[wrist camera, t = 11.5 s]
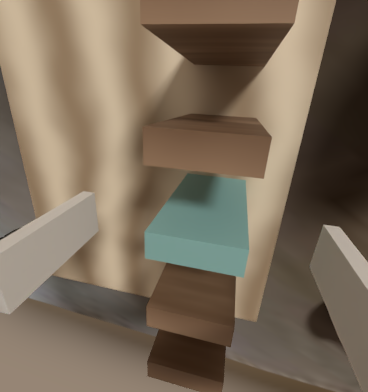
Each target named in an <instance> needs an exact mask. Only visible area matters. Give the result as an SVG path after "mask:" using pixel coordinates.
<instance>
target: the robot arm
mask: <svg viewBox="0 0 368 392" xmlns="http://www.w3.org/2000/svg"><path fill="white" fill-rule="evenodd" d="M98 231H99V228H98V220H97V211H96V202H95V193H93V192H86V191H83V192H81V193H79V194H78V195H76V196H74V197H73V198H71V199H69V200H68V201H66V202H64V203H62V204H61V205H59V206H57V207H56V208H54V209H52V210H51V211H49V212H47V213H46V214H44V215H42V216H40V217H39V218H37V219H35V220H34V221H32V222H30V223H29V224H27V225H25V226H23V227H21V228H18V229H16V230H14V231H12V232H10V233H8V234H7V235H5V236H4V237H2V238H0V312H2V313H6V314H11V313H12V312H13V311H14V310H15V309H16V308H17V307H18V306H19V305H20V304H21V303H22V302H23V301H24V300H25V299H27V298H28V297H29V296H30V295H31V294H32V293H33V292H34V291H35V290H36V289H37V288H38V287H39V286H40V285H42V284H43V283H44V282H45V281H46V280H47V279H48V278H49V277H50V276H51V275H52V274H53V273H54V272H55V271H56V270H58V269H59V268H60V267H61V266H62V265H63V264H64V263H65V262H66V261H67V260H68V259H69V258H70V257H71V256H72V255H74V254H75V253H76V252H77V251H78V250H79V249H80V248H81V247H82V246H83V245H84V244H85V243H86V242H87V241H88V240H89V239H91V238H92V237H93V236H94V235H95V234H96V233H97V232H98ZM309 267H310V270H311V272H312V274H313V277H314V279H315V281H316V284H317V286H318V288H319V291H320V293H321V296H322V298H323V300H324V303H325V305H326V307H327V310H328V312H329V314H330V317H331V319H332V321H333V324H334V326H335V329H336V331H337V333H338V336H339V338H340V340H341V343H342V345H343V347H344V350H345V352H346V354H347V357H348V359H349V362H350V364H351V366H352V369H353V371H354V373H355V376H356V378H357V380H358V383H359V385H360V387H361V390H362V392H368V262H367V261H366V260H365V258H364V257H363V256H362V255H361V253H360V252H359V251H358V250H357V248H356V247H355V246H354V244H353V243H352V242H351V241H350V239H349V238H348V237H347V236H346V234H345V233H344V232H343V231H342V229H341V228H340V227H336V226H329V225H323V227H322V230H321V233H320V236H319V239H318V242H317V245H316V248H315V251H314V254H313V257H312V260H311V263H310V266H309Z"/></svg>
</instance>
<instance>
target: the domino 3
mask: <svg viewBox="0 0 368 392" xmlns="http://www.w3.org/2000/svg"><path fill="white" fill-rule="evenodd" d="M144 237H145V258H146V259H151V260H156V261H161V262H166V263H171V264H176V265H181V266H186V267H191V268H197V269H202V270H207V271H212V272H217V273H222V274H227V275H232V276H237V277H242V278H244V274H245V269H246V264H247V259H248V254H249V235H248V215H247V195H246V180H240V179H232V178H223V177H215V176H206V175H198V174H189V173H187V175H186V176H185V178H184V179H183V180H182V182H181V183H180V184H179V186H178V187H177V188H176V190H175V191H174V192H173V194H172V195H171V196H170V198H169V199H168V201H167V202H166V203H165V205H164V206H163V207H162V209H161V210H160V211H159V213H158V214H157V215H156V217H155V218H154V220H153V221H152V222H151V224H150V225H149V226H148V228H147V229H146V230H145V232H144Z"/></svg>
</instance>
